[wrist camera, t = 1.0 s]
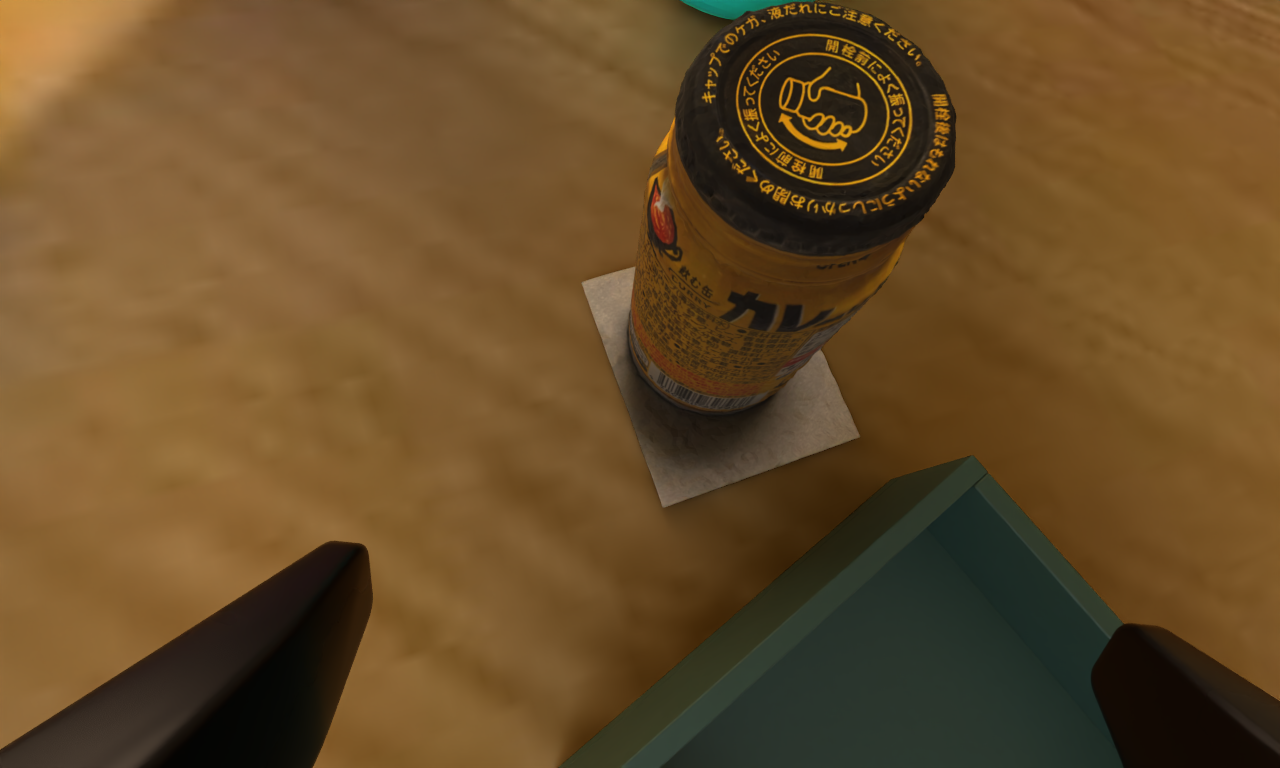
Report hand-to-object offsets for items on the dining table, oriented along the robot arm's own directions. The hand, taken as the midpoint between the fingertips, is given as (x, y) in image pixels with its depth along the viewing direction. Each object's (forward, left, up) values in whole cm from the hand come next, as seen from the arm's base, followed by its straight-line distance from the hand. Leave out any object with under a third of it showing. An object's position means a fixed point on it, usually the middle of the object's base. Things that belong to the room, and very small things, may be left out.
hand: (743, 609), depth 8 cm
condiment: (+5, -6, -14) cm, 16 cm away
